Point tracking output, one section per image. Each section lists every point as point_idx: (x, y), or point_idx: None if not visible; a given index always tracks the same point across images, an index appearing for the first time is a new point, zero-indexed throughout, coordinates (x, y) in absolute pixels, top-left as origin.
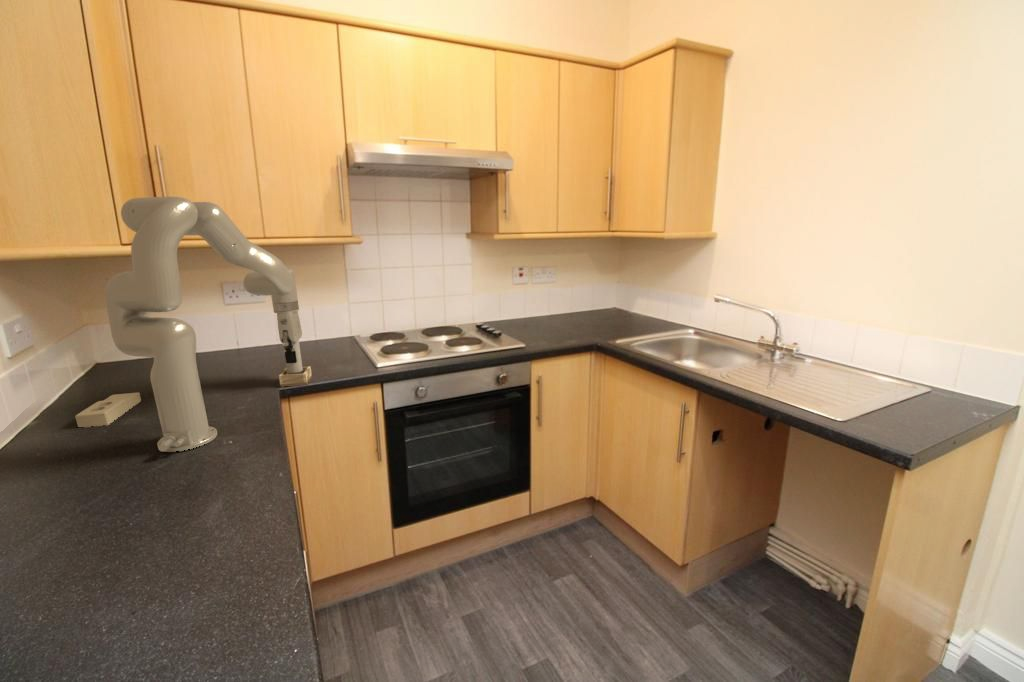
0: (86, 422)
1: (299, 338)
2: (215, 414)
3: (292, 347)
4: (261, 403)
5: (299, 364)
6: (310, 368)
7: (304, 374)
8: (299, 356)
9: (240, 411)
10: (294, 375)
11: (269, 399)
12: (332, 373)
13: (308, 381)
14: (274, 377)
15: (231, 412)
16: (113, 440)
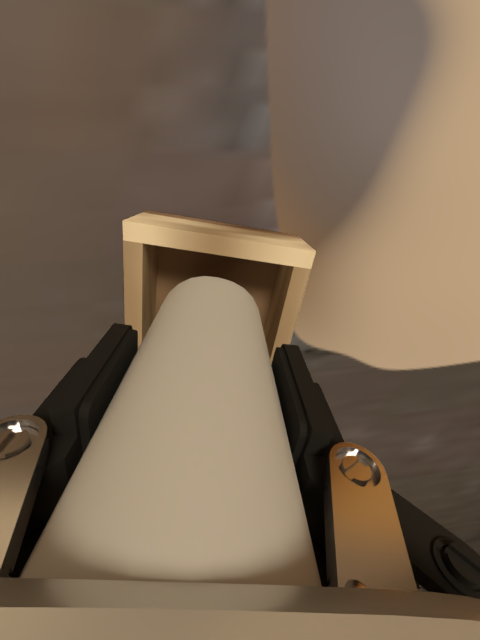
0: None
1: (204, 625)
2: (434, 487)
3: (395, 515)
4: (429, 397)
5: (248, 311)
6: (138, 220)
7: (312, 257)
8: (238, 341)
9: (461, 441)
10: (294, 318)
11: (402, 378)
12: (84, 41)
13: (251, 228)
14: None
15: (450, 459)
16: None
